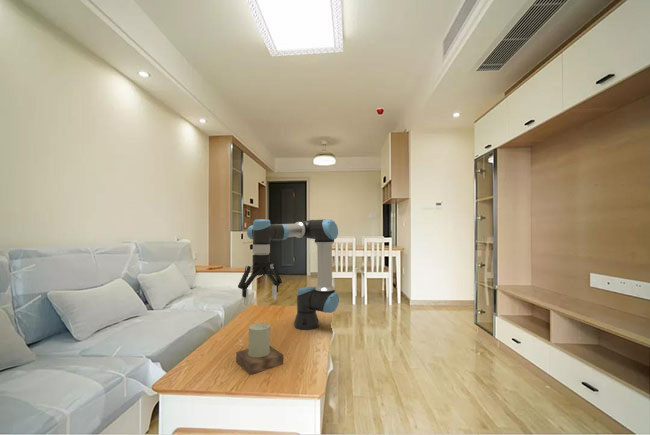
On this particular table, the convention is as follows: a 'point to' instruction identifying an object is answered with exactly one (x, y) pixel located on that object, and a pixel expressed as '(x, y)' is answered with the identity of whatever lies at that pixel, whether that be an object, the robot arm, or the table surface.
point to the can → (259, 340)
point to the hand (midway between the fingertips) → (260, 302)
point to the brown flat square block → (259, 361)
